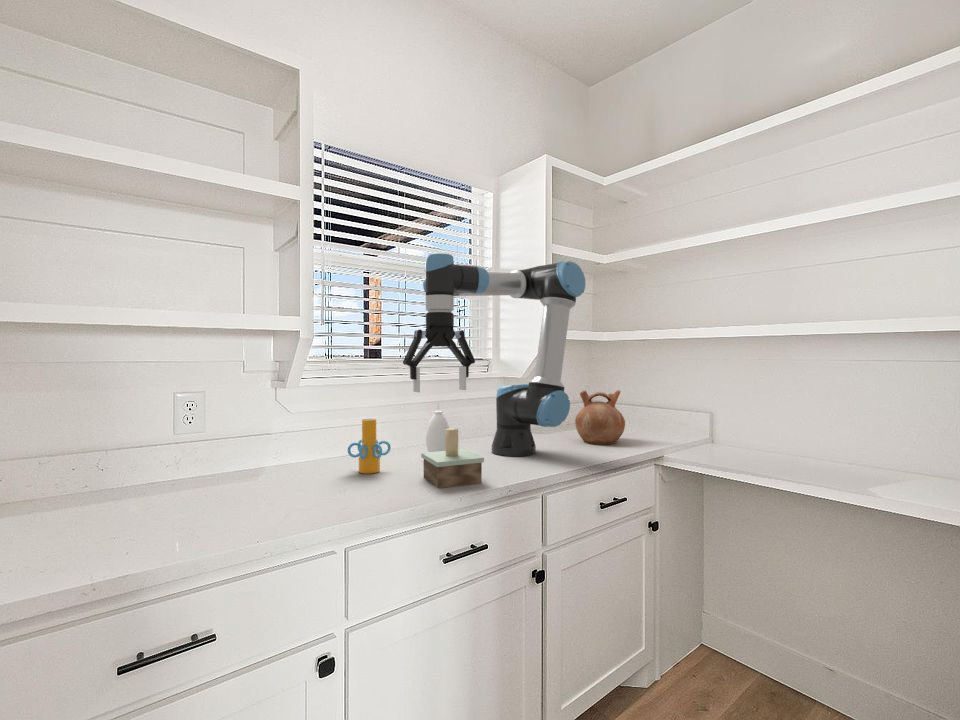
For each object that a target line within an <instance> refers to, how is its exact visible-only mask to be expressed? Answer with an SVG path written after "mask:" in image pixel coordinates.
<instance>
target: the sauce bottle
mask: <svg viewBox="0 0 960 720" xmlns="http://www.w3.org/2000/svg"><path fill="white" fill-rule="evenodd" d="M433 413H434V414H433V415H432V417H431V418H430V420H429V422H428V425H427V428H426V435H425V444H426V448H427V452H437V451H446V429H449V428H450V425H449V423H448V421H447V418H446V417H445V415H444V414H443V411H442V410H440V403H439V402H438V403H437V410H435V411H433Z"/></svg>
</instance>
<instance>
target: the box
mask: <svg viewBox="0 0 960 720" xmlns="http://www.w3.org/2000/svg"><path fill="white" fill-rule="evenodd" d="M482 464H483V462H482V463H473V464H463V465H453V466H443V467H436V466H435V465H433V464H431V463H430V462H428V461H427V460H425V459H423V478H424V479H425V478H426V479H425V480H427V481H428V482H429V481H430V482H429V483H431V484H432V483H433V484H432V485H434V486H435V487H436V486H437V487H436V488H438V489H442V488H443V489H444V488H448V487H449V488H451V486H452V487H458V486H459V487H460V486H467V485H476V484H482V476H483V475H482V474H483V473H482V468H483V467H482Z"/></svg>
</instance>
